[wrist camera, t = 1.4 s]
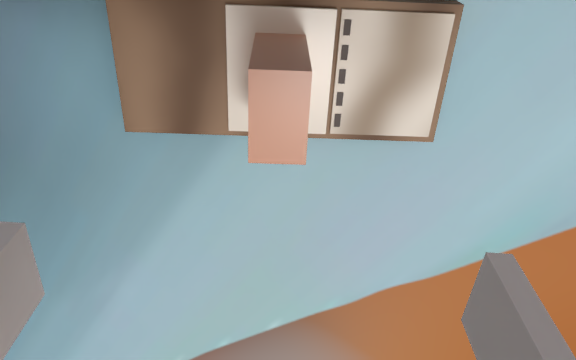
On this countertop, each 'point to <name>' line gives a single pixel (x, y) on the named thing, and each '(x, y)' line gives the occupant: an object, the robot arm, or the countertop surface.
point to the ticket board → (344, 77)
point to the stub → (279, 77)
